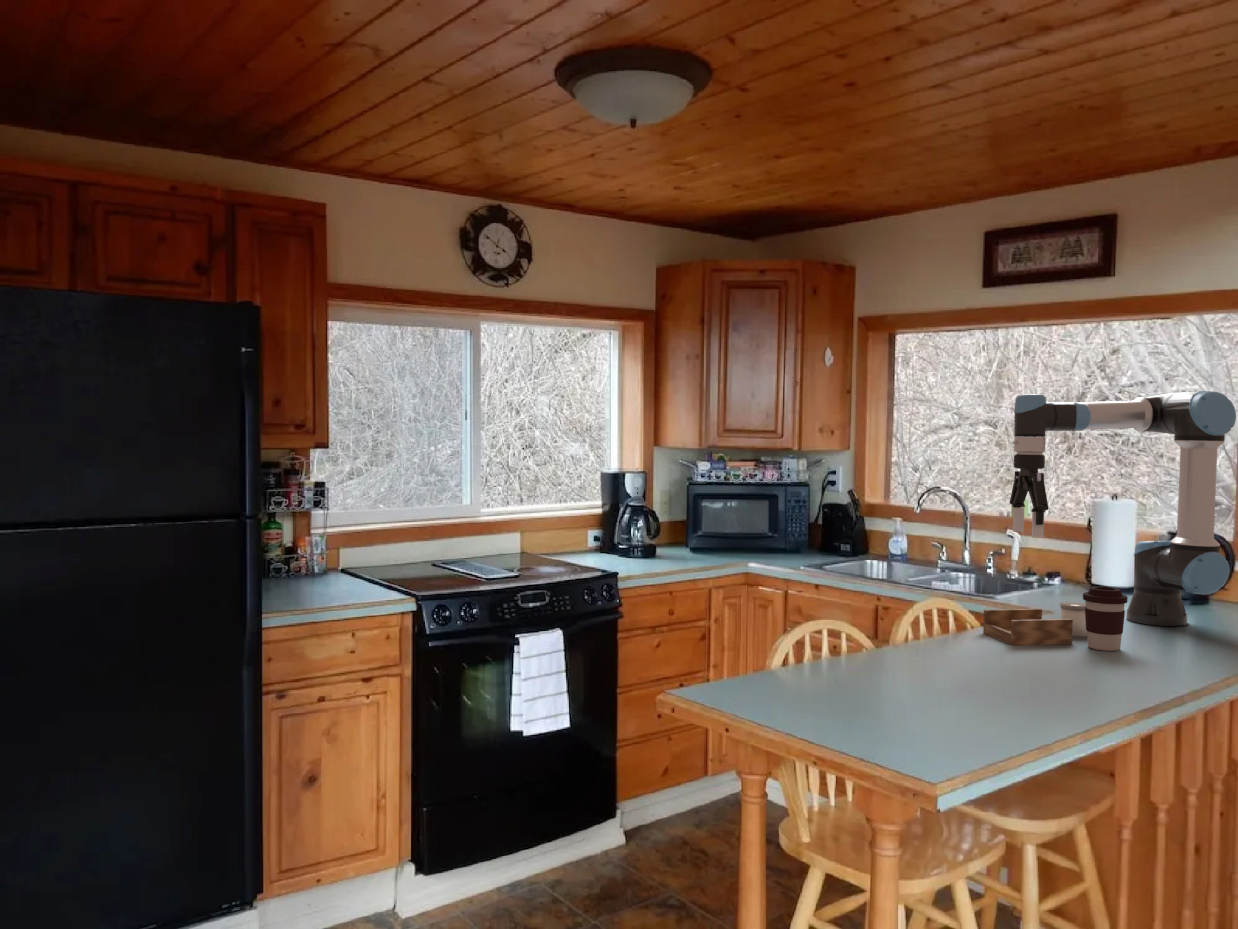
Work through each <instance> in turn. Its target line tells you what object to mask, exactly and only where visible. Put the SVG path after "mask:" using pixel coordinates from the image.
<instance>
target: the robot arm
mask: <svg viewBox="0 0 1238 929" xmlns="http://www.w3.org/2000/svg"><path fill="white" fill-rule="evenodd" d="M1014 401H1015V402H1014V410H1013V413H1014V423H1013V424H1014V426H1013V427H1014V429H1013V430H1014V435H1013V436H1014V438H1013V439H1014V440H1013V441H1012V445H1013V446H1014V447H1013V448H1014V450H1013V451H1014V453H1015V454H1014V455H1013V468H1014V469H1017V470H1015V471H1014V478H1013V484H1012V489H1011V493H1010V494H1011V495H1010V499H1009V504H1010V505H1012V532H1013V533H1024V532H1025V508H1026V504H1025V501H1026V498H1027V495H1028V494H1029V497H1030V501H1031V504H1032V509H1031V510H1030V511H1031V513H1032V514H1031V538H1034V539H1035V538H1038V539H1040V538H1043V539H1044V537H1045V534H1044V533H1045V513H1046V511H1048V510H1049V502H1048V497H1047V491H1046V485H1045V473H1043V472H1039V471H1038V470H1043V469H1045V467H1046V465H1045V464H1046V456H1045V454H1043V453H1045V452H1046V438H1047V437H1046V432H1050V431H1051V432H1081V431H1085V430H1108V429H1109V430H1110V429H1111V430H1113V429H1114V430H1115V429H1133V430H1135V431H1137V432H1142V433H1143V432H1151V433H1152V432H1153V433H1161V434H1168V435H1169V434H1170V435H1174V436H1173V437H1174V440H1173V441H1174V443H1175V444H1176V445H1177V446H1178V447H1179V448H1180V450H1179V451H1180V452H1179V476H1178V497H1177V498H1178V499H1177V522H1176V523H1177V525H1176V527H1177V528H1176V535H1175V537H1174V538H1172V539H1171V540H1146V541H1144V540H1141V541H1138V542H1136V544H1135V548H1134V553H1133V557H1134V560H1133V561H1134V562H1133V564H1134V566H1133V567H1134V568H1133V569H1134V570H1133V571H1134V572H1133V573H1134V575H1133V577H1134V578H1133V584H1134V585H1133V593H1132V596H1131V599H1130V602H1129V604H1128V608H1127V609H1126V620H1128V621H1130V622H1133V623H1138V624H1143V625H1150V626H1151V625H1152V626H1161V627H1181V626H1182V627H1183V626H1186V625H1187V624H1188V614H1187V611H1186V608H1185V605H1184V603H1183V599H1182V595H1181V594H1182V592H1181V591H1183V592H1187V593H1190V594H1193V595H1196V594H1197V595H1211V594H1214V593H1217V592H1218V591H1219V590H1220V589H1221V588H1223V587H1224V586H1225V584H1226V583H1227V581H1228V579H1229V576H1230V564H1229V561H1228V560H1226V557H1225V556H1223V555H1222V554H1221V551H1220V550H1221V544H1220V543H1219V542H1218V541H1217V539H1215V518H1216V517H1215V516H1216V492H1217V490H1216V489H1217V471H1218V470H1217V468H1218V450H1219V447H1221V446H1222V445H1223V444H1225V436H1226V434H1228V433H1229V432H1231V430H1232V428H1233V427H1234V426H1235V424H1236V421H1237V411H1236V408H1235V406H1234V403H1233V402H1232V400H1230V399H1229V398H1228V397H1227V396H1226V395H1225V394H1223V393H1221V392H1218V391H1210V390H1209V391H1208V390H1198V391H1186V392H1171V393H1166V394H1165V393H1164V394H1159V395H1154V396H1144V397H1142V396H1140V397H1136V398H1135V399H1134V400H1131V401H1130V400H1127V401H1126V400H1125V401H1124V400H1123V401H1119V400H1118V401H1090V402H1089V401H1088V402H1087V401H1086V402H1085V401H1084V402H1083V401H1082V402H1076V401H1073V402H1071V401H1070V402H1068V401H1065V402H1062V401H1061V402H1060V401H1057V402H1048V400H1047V396H1046V395H1045V394H1039V393H1037V394H1035V393H1033V394H1031V393H1030V394H1026V393H1025V394H1019V395H1017V396H1016V397H1015V400H1014ZM1019 469H1020V470H1019Z"/></svg>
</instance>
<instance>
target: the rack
mask: <svg viewBox="0 0 1238 929" xmlns="http://www.w3.org/2000/svg"><path fill="white" fill-rule="evenodd" d="M982 624H983V625H982V626H983V627H982V628H983V629H982V631H983V634H986V635H988V636H990V637H992V638H995V639H997V638H998V639H997V640H999V639H1000V640H999V641H1001V640H1002V642H1004V643H1006V644H1009V645H1011V644H1012V645H1011V646H1035V645H1036V646H1037V645H1039V646H1040V645H1042V646H1043V645H1072V644H1073V636H1072V628H1073V620H1072V619H1061V618H1049V619H1047V618H1045V619H1043V609H1042V608H1018V609H1017V608H1013V609H1012V608H1011V609H1009V608H1008V609H1006V608H1005V609H983V623H982Z"/></svg>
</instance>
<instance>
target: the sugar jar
mask: <svg viewBox="0 0 1238 929" xmlns="http://www.w3.org/2000/svg"><path fill="white" fill-rule="evenodd" d="M1085 607H1086V603H1083V602H1074V601H1071V602H1070V601H1065V602H1060V603H1059V608H1060V619H1072V620H1073V628H1072V637H1078V636H1083V637H1087V630H1086V620H1085Z"/></svg>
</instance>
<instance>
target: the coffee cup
mask: <svg viewBox="0 0 1238 929" xmlns="http://www.w3.org/2000/svg"><path fill="white" fill-rule="evenodd" d="M1128 598H1129V597H1128V596H1127V595H1126V594H1123V593H1122V591H1121V589H1120V588H1117V587H1113V586H1112V587H1111V586H1091V587H1089V589H1088V591H1085V592H1083V593H1082V600H1083V601H1085V604H1086V607H1085V620H1086V630H1087V636H1086V637H1087V646H1088V647H1089V648H1090V649H1093V650H1097V651H1102V652H1116V651H1119V650H1120V649H1121V643H1122V635H1123V632H1124V623H1125V615H1126V614H1125V613H1126V610H1125V606H1126V605H1125V604H1127V603H1128Z"/></svg>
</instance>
